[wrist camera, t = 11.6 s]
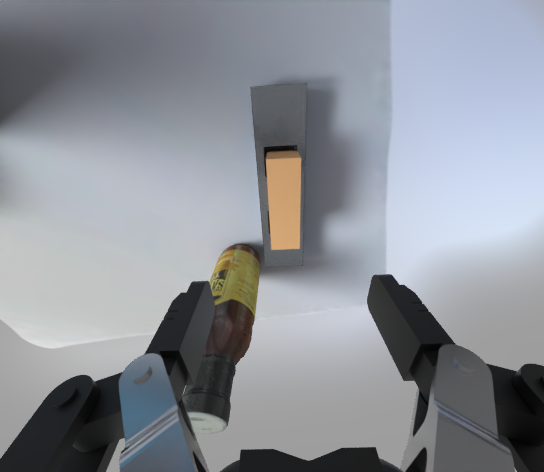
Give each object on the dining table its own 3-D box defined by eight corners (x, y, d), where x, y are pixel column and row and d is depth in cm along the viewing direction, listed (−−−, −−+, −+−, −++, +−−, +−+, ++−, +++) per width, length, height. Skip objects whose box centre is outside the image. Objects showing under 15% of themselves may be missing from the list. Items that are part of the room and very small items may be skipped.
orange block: (272, 220, 29) (271, 249, 23) (268, 147, 25) (265, 159, 18) (294, 219, 29) (299, 248, 23) (294, 146, 25) (301, 157, 18)
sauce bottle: (229, 235, 31) (170, 391, 13) (268, 252, 32) (260, 414, 15) (213, 267, 34) (147, 430, 16) (249, 282, 35) (224, 446, 18)
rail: (266, 252, 32) (265, 266, 29) (253, 90, 22) (250, 86, 19) (299, 251, 32) (302, 265, 29) (302, 87, 22) (306, 83, 19)
